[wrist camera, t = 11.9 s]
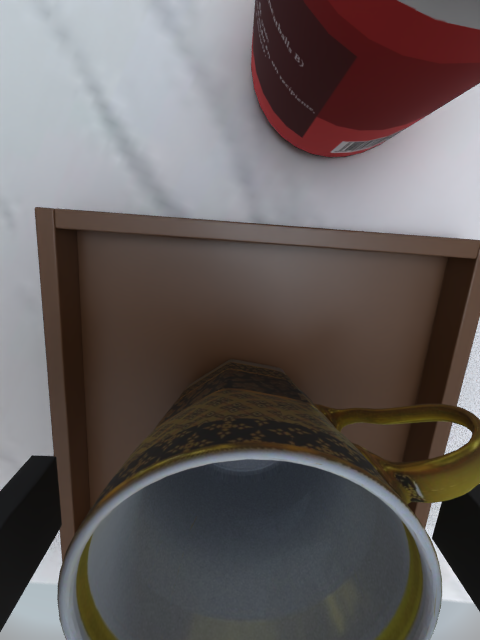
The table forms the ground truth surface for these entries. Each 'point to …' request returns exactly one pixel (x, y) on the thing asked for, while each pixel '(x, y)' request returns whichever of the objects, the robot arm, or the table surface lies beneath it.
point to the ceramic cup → (263, 523)
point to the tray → (243, 328)
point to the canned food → (360, 67)
